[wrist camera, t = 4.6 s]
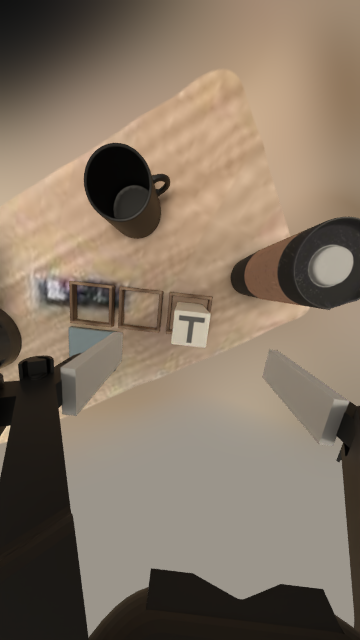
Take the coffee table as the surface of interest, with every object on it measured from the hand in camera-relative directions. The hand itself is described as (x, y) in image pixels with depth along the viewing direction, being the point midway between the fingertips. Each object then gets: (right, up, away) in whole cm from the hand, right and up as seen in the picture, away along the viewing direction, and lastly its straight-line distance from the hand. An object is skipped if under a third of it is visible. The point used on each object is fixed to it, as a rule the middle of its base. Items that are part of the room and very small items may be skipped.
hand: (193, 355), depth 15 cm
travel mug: (+13, +12, +19) cm, 25 cm away
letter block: (+1, +4, +20) cm, 21 cm away
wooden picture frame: (-19, +7, +20) cm, 29 cm away
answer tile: (-20, -3, +22) cm, 31 cm away
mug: (-8, +24, +17) cm, 30 cm away
